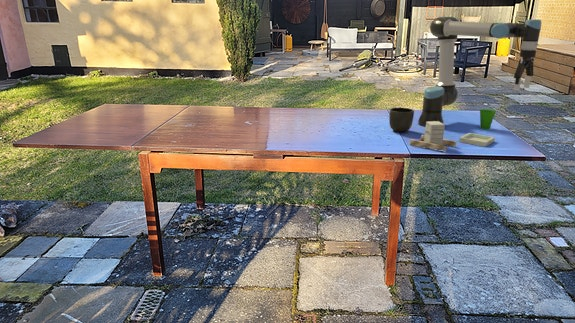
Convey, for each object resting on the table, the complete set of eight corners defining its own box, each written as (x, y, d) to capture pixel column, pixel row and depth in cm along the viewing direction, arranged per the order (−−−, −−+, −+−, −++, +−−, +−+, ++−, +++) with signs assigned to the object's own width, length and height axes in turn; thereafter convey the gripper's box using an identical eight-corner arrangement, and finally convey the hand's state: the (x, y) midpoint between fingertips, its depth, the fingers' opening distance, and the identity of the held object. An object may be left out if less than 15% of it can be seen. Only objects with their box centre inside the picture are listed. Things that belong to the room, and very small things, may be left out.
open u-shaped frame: (410, 145, 226) (410, 139, 225) (421, 140, 235) (422, 134, 234) (444, 152, 214) (445, 146, 213) (455, 146, 223) (456, 141, 222)
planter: (413, 129, 257) (415, 108, 253) (409, 135, 245) (412, 113, 241) (390, 127, 262) (392, 106, 258) (385, 132, 250) (387, 111, 246)
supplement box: (423, 144, 228) (425, 121, 224) (436, 143, 228) (439, 121, 224) (428, 148, 221) (431, 124, 217) (442, 147, 221) (445, 124, 217)
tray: (458, 141, 232) (459, 137, 231) (468, 136, 241) (469, 132, 241) (485, 147, 223) (485, 142, 222) (494, 141, 232) (495, 137, 232)
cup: (494, 130, 254) (497, 112, 251) (478, 130, 256) (481, 112, 253) (491, 127, 263) (493, 109, 259) (475, 126, 265) (478, 109, 261)
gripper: (526, 51, 219) (519, 92, 226) (544, 48, 234) (537, 87, 241) (511, 50, 224) (504, 90, 231) (530, 48, 240) (523, 85, 247)
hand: (521, 88), depth 236 cm, fingers open, 13 cm apart
